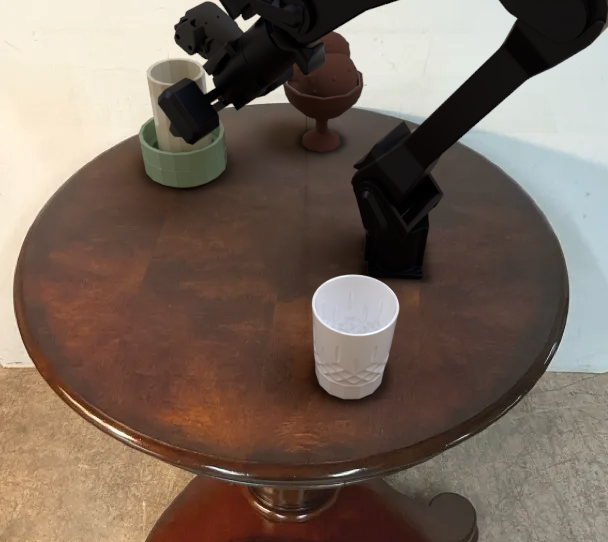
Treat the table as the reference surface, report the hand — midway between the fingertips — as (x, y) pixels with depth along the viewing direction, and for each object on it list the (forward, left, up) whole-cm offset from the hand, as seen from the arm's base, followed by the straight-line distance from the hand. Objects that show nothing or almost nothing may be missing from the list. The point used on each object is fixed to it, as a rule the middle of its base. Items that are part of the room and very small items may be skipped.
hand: (197, 116), depth 87 cm
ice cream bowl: (-15, -10, -9) cm, 20 cm away
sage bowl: (+3, -2, -9) cm, 9 cm away
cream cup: (+2, -2, -8) cm, 9 cm away
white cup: (-20, +33, -9) cm, 40 cm away
